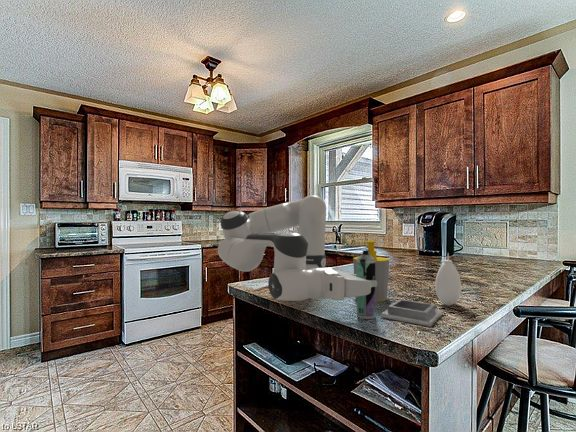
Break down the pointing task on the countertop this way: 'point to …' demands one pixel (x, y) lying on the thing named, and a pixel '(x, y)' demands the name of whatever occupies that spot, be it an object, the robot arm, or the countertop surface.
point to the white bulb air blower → (448, 283)
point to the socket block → (412, 312)
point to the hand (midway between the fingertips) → (366, 280)
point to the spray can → (368, 301)
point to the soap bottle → (377, 272)
